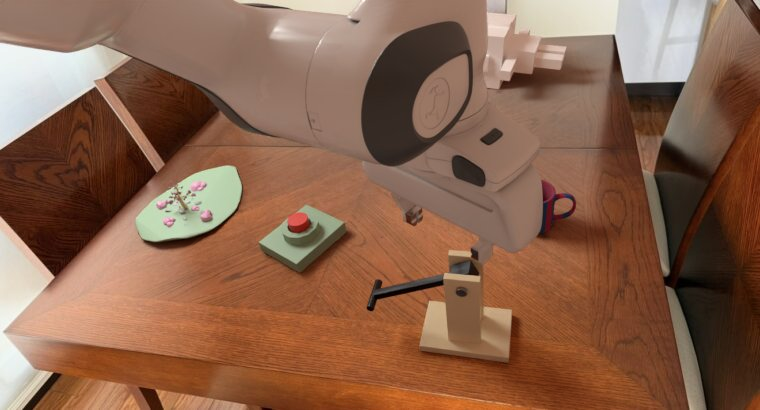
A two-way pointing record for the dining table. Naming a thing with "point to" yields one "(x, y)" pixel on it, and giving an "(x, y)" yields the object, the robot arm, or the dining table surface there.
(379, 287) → the lever
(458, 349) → the bracket
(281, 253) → the button box
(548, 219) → the mug
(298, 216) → the button
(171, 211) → the plant
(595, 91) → the dining table surface
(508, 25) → the white voxel figure
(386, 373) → the dining table surface
